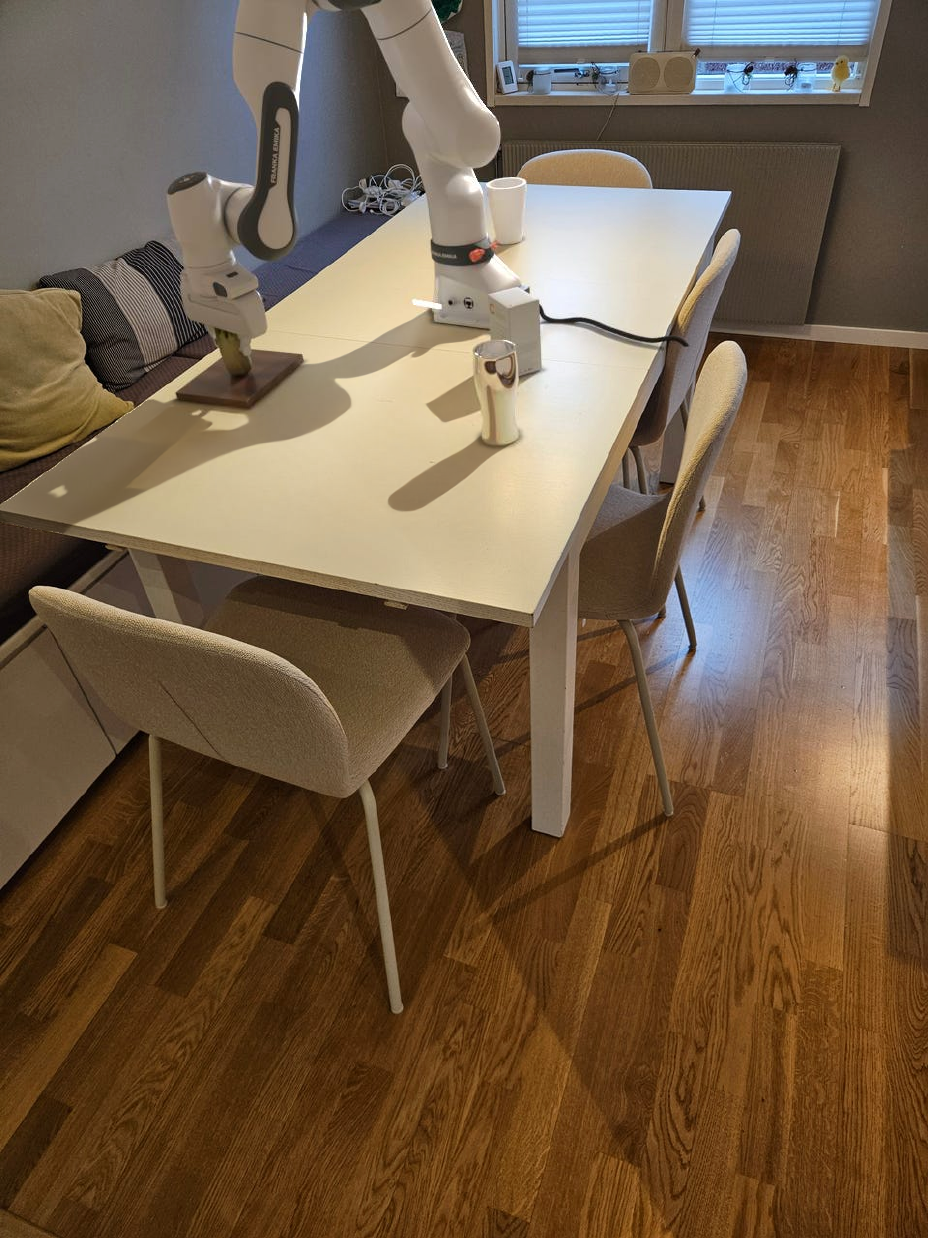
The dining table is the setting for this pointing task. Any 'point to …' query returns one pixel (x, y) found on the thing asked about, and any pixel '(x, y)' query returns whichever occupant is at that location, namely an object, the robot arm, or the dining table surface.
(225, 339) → the fennel bulb
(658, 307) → the dining table surface
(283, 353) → the cutting board
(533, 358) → the small box
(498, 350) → the beer glass
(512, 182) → the foam cup
